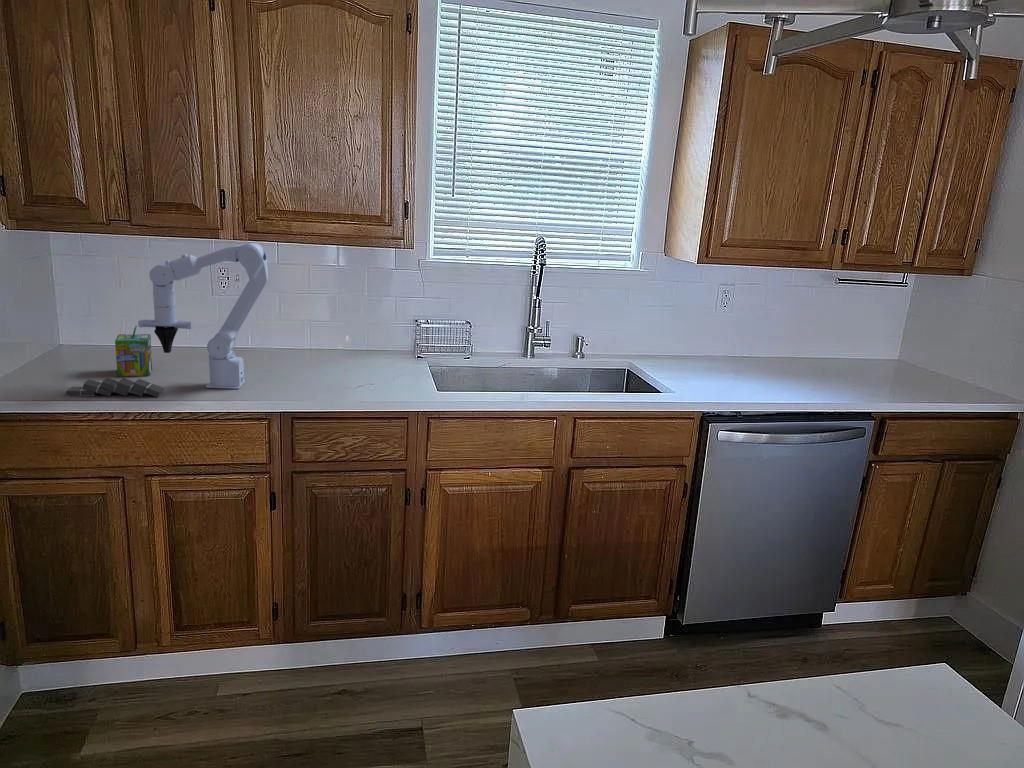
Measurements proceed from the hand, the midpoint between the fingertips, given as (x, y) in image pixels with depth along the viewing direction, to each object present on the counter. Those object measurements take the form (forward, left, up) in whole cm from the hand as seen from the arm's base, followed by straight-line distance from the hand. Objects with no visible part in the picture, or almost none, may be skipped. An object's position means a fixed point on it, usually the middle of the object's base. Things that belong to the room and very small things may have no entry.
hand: (167, 352), depth 212 cm
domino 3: (+7, +11, -9) cm, 16 cm away
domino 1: (+15, +12, -9) cm, 21 cm away
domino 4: (+3, +11, -9) cm, 15 cm away
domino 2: (+11, +12, -9) cm, 19 cm away
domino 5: (-1, +11, -9) cm, 14 cm away
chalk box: (+14, -12, -10) cm, 21 cm away
